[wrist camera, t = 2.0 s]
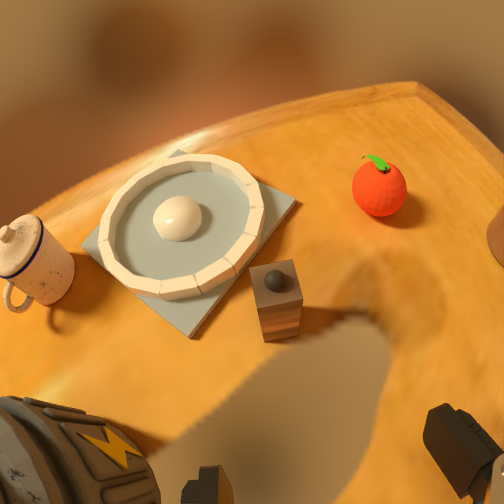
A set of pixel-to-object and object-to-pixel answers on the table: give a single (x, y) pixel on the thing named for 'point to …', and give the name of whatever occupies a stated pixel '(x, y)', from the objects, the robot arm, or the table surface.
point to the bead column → (277, 299)
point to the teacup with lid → (33, 263)
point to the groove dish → (186, 233)
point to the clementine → (379, 187)
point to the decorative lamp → (68, 458)
